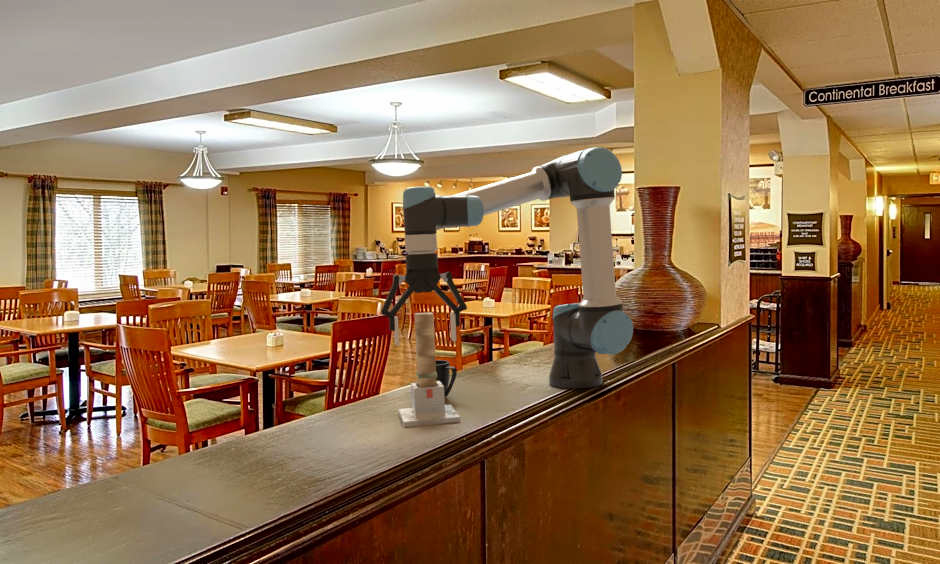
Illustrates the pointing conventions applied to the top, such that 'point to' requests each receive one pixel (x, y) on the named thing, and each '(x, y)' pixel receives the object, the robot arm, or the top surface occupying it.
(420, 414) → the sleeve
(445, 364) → the mug
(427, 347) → the post
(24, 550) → the top surface
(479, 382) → the top surface
